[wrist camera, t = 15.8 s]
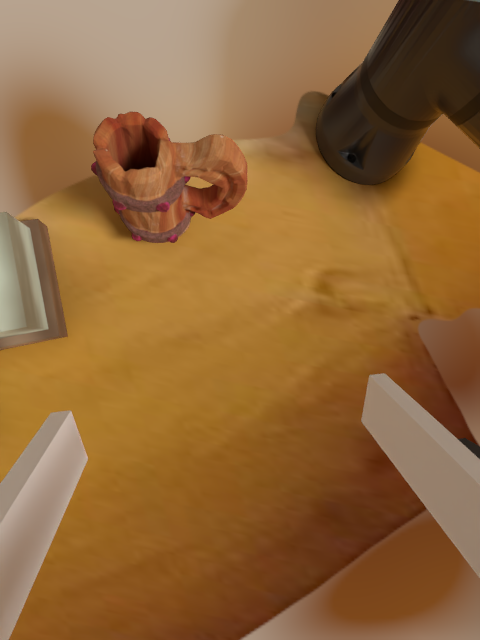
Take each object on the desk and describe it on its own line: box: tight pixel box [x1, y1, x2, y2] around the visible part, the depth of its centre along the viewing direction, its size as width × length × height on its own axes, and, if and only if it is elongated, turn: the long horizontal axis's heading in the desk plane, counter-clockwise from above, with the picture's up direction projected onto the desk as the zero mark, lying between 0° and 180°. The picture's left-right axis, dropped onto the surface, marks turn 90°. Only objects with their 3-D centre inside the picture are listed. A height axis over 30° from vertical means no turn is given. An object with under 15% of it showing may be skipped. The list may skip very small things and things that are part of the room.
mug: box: [91, 112, 247, 243], centre depth 29 cm, size 15×8×15 cm, turn 90°
